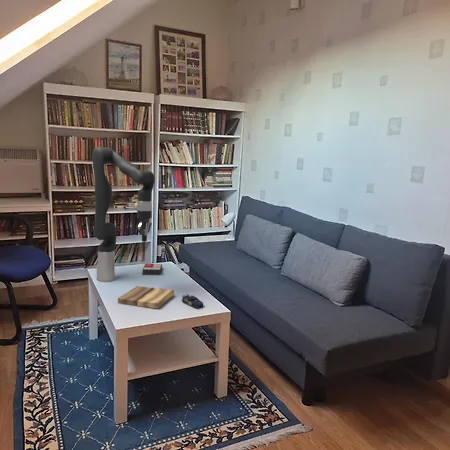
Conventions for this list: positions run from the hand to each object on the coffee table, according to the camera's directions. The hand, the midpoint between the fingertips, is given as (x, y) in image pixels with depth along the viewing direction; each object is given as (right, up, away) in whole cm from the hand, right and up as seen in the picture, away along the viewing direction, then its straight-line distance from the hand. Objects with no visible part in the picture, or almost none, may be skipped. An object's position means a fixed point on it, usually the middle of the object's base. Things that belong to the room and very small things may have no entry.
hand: (144, 241), depth 212 cm
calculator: (-3, -21, +39) cm, 44 cm away
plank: (+8, -29, -10) cm, 32 cm away
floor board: (-2, -29, -7) cm, 30 cm away
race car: (+27, -32, -13) cm, 43 cm away
